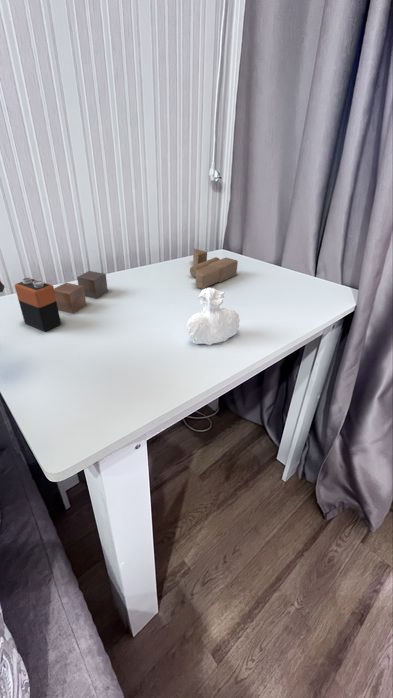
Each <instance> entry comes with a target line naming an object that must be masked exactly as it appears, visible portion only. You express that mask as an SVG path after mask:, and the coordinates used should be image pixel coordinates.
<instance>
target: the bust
mask: <svg viewBox="0 0 393 698" xmlns="http://www.w3.org/2000/svg"><path fill="white" fill-rule="evenodd" d="M225 293H226V292H225V291H220V290H217V289H216V288H214V287H206V288H204V289H201V291H200V293H199V295H198V296H197V299H198V300H199V305H203V308H202V311H200V312H196V313H194V314H193V315H192V316H191V317H189V318H188V320H187V321H186V324H185V327H186V330H187V332H188V335H189V337H190V339H191V341H192V342H193V343H194V344H198V345H207V346H211V345H213V344H219V343H222V342H226V341H228V339H230V338H232V337H234V336H235V335H236V334H237V333H238V331H239V328H240V321H241V319H240V315H239V313H238V312H237V311H236V310H234V309H230V308H227V307H222V308H220V307H221V305H222V304H224V298H225Z"/></svg>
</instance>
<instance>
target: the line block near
mask: <svg viewBox="0 0 393 698" xmlns="http://www.w3.org/2000/svg"><path fill="white" fill-rule="evenodd" d="M54 292H55V297H56V302H57V307H58V311H60V312H63V313H68V314H72V315H73V314H76V313H77V312H78V311H80V310H81V309H84V308H85V307H87V302H86V301H87V300H86V297H85V293H84V286H80V285H78V284H76V283H75V284H74V283H72V282H71V283H69V282H64V283H62V284H60V285H58V286H56V287H54Z"/></svg>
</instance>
